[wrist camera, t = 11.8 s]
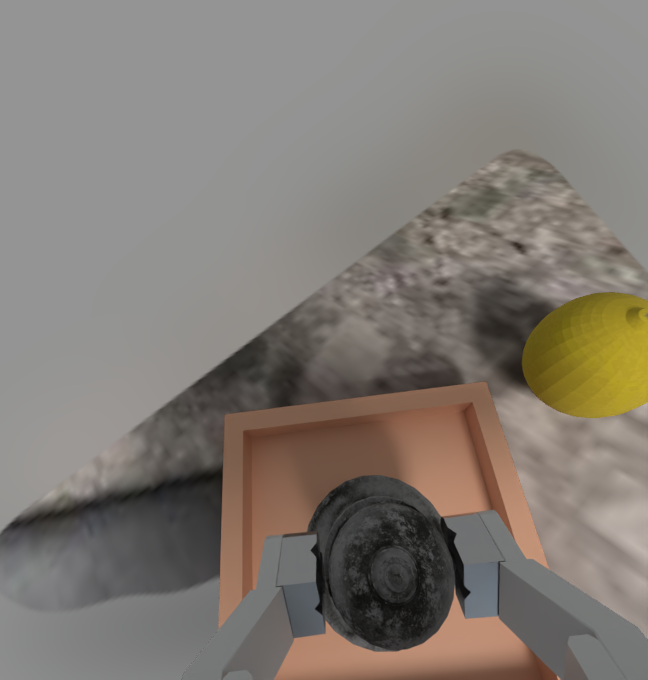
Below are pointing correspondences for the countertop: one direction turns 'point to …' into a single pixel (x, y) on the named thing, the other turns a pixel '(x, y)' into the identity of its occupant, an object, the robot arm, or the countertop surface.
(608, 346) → the lemon
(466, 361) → the countertop surface
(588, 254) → the countertop surface
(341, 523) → the dark grey chess piece
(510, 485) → the tray
